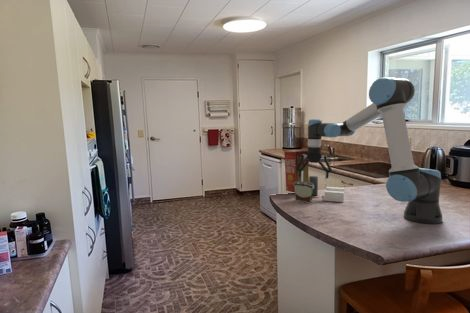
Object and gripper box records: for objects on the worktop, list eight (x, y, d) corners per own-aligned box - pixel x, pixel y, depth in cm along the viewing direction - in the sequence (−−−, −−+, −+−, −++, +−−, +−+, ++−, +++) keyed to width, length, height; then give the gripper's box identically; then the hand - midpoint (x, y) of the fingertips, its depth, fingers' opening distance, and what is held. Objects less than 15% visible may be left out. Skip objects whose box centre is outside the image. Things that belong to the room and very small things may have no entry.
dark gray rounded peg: (316, 196, 183) (317, 177, 182) (308, 196, 185) (308, 177, 184) (318, 194, 188) (318, 176, 187) (309, 194, 190) (309, 175, 188)
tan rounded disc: (318, 198, 182) (318, 197, 182) (306, 197, 185) (306, 196, 185) (320, 195, 189) (320, 194, 189) (308, 194, 191) (308, 193, 191)
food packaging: (284, 190, 202) (283, 150, 200) (297, 189, 205) (296, 150, 204) (296, 193, 190) (295, 151, 188) (310, 191, 193) (308, 150, 192)
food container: (318, 201, 177) (318, 183, 175) (312, 203, 172) (313, 185, 171) (298, 197, 185) (299, 180, 184) (293, 199, 180) (293, 182, 179)
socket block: (343, 202, 174) (343, 193, 173) (324, 200, 177) (324, 191, 177) (344, 196, 186) (344, 187, 186) (326, 194, 190) (326, 186, 189)
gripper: (337, 146, 182) (336, 183, 185) (294, 145, 191) (293, 180, 193) (336, 147, 175) (335, 186, 178) (291, 146, 184) (291, 182, 187)
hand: (313, 183), depth 186 cm, fingers open, 13 cm apart
